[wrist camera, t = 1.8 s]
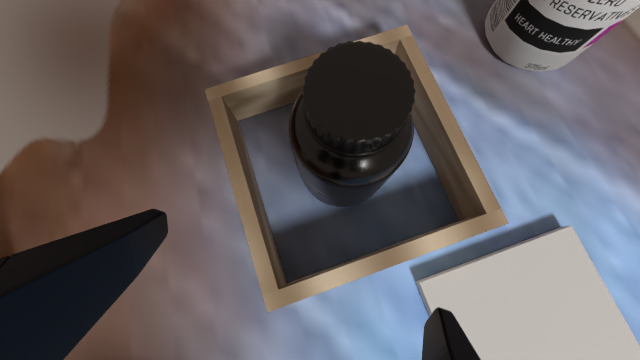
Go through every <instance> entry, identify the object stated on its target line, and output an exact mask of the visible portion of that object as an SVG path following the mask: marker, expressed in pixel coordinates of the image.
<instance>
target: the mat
mask: <svg viewBox="0 0 640 360" xmlns="http://www.w3.org/2000/svg"><path fill="white" fill-rule="evenodd" d="M415 282H416V284H417V287H418V289H419V292H420V294H421V297H422V299H423V301H424V304H425V306H426V309H427V311H428V314H429V316H431V314H432V313H433V311H434V310H435V309H436V308H437V307H440V308H443V309H446V310H449V311H451V312H452V313H453V314H454V316H455V318H456V319H457V321H458V323H459V324H460V326H461V328H462V329H463V331H464V333H465V334H466V336H467V338H468V339H469V341H470V342H471V344H472V346H473V347H474V349H475V351H476V352H477V354H478V356H479V357H480V359H481V360H640V346H639V344H638V342H637V340H636V339H635V337H634V335H633V333H632V332H631V330H630V328H629V326H628V325H627V323H626V321H625V319H624V317H623V316H622V314H621V312H620V310H619V309H618V307H617V305H616V303H615V302H614V300H613V298H612V296H611V294H610V293H609V291H608V289H607V287H606V286H605V284H604V282H603V280H602V279H601V277H600V275H599V273H598V271H597V270H596V268H595V266H594V264H593V263H592V261H591V259H590V257H589V256H588V254H587V252H586V250H585V248H584V247H583V245H582V243H581V241H580V240H579V238H578V236H577V234H576V233H575V231H574V229H573V227H572V226H564V227H559V228H557V229H554V230H551V231H549V232H546V233H543V234H541V235H538V236H535V237H533V238H530V239H527V240H525V241H522V242H519V243H517V244H514V245H511V246H509V247H506V248H503V249H501V250H498V251H495V252H493V253H490V254H487V255H485V256H482V257H479V258H477V259H474V260H471V261H469V262H466V263H463V264H461V265H458V266H455V267H453V268H450V269H447V270H445V271H442V272H439V273H437V274H434V275H431V276H428V277H426V278H423V279H420V280H418V281H415Z"/></svg>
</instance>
